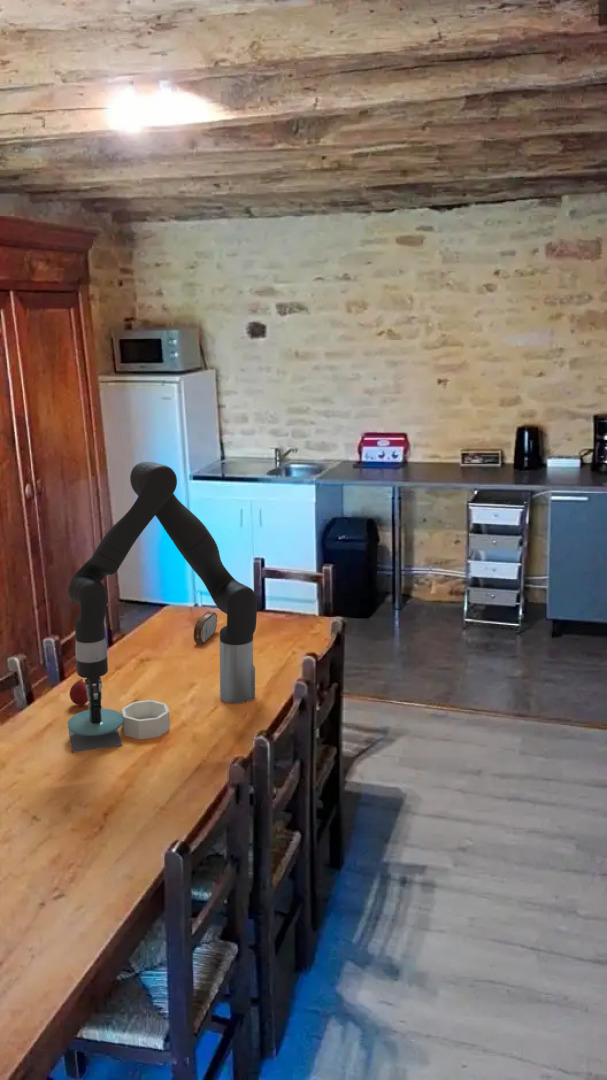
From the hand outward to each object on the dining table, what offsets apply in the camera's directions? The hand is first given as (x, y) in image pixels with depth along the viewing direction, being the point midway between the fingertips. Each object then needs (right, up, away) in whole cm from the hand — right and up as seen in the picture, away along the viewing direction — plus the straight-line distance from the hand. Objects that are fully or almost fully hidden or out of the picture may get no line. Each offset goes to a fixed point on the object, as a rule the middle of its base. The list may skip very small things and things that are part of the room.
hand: (95, 719), depth 222 cm
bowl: (+11, -4, +7) cm, 14 cm away
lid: (0, -1, 0) cm, 1 cm away
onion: (-8, -1, +19) cm, 21 cm away
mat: (0, -5, +1) cm, 5 cm away
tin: (+20, +12, +70) cm, 74 cm away
